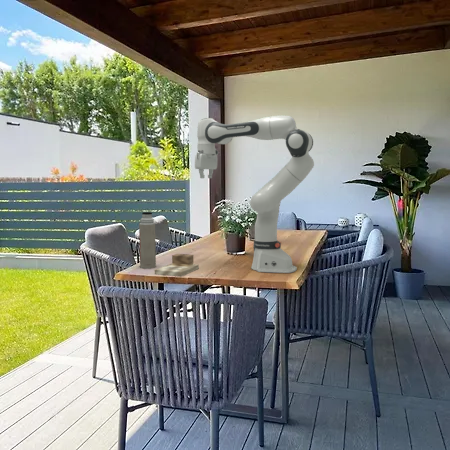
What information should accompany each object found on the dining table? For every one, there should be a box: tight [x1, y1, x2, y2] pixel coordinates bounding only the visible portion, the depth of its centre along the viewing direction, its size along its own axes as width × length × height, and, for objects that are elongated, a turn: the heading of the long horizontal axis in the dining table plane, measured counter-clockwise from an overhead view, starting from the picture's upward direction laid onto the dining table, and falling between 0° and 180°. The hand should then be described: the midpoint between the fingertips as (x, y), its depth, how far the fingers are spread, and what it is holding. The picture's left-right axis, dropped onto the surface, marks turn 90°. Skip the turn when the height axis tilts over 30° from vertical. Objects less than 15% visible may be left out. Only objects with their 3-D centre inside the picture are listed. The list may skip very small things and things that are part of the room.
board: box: [154, 263, 200, 277], centre depth 219 cm, size 14×19×2 cm
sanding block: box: [171, 253, 194, 267], centre depth 225 cm, size 9×6×5 cm, turn 68°
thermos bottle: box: [138, 211, 157, 269], centre depth 229 cm, size 8×8×28 cm
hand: (206, 178), depth 231 cm, fingers open, 8 cm apart
